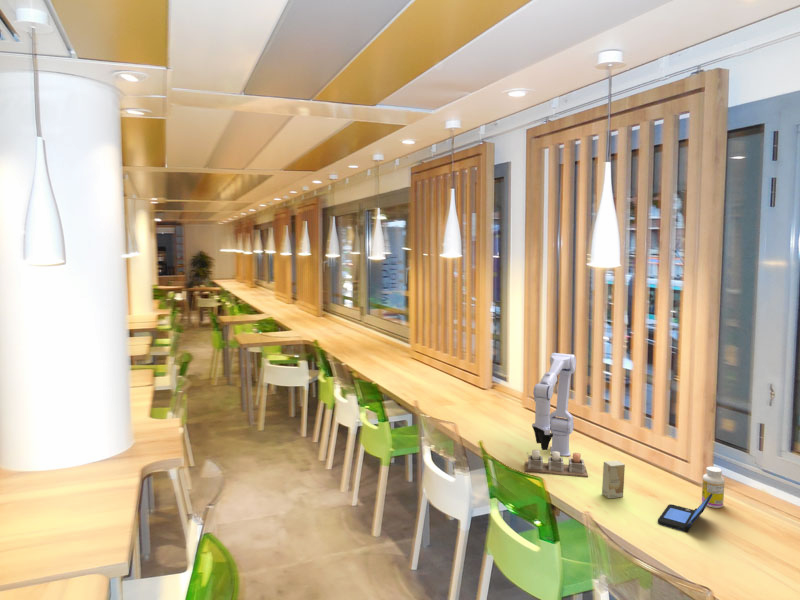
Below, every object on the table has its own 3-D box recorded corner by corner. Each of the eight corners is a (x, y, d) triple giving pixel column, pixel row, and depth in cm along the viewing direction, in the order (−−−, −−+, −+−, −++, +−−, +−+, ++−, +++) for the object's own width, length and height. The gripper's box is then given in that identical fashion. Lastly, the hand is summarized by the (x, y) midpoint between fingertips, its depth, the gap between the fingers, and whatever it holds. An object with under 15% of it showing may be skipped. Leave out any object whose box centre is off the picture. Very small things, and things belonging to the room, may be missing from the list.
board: (525, 462, 234) (525, 452, 233) (585, 467, 228) (585, 457, 228) (525, 472, 224) (525, 461, 223) (588, 477, 219) (588, 466, 218)
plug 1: (531, 457, 229) (531, 449, 229) (539, 458, 229) (539, 449, 228) (531, 460, 226) (532, 452, 226) (539, 460, 226) (539, 452, 225)
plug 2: (551, 459, 228) (552, 450, 227) (559, 459, 227) (559, 451, 227) (552, 461, 225) (552, 453, 224) (559, 462, 224) (560, 454, 224)
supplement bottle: (703, 498, 200) (705, 463, 199) (724, 503, 196) (726, 468, 195) (699, 505, 195) (701, 469, 194) (721, 510, 191) (723, 474, 190)
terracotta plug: (572, 460, 226) (572, 452, 226) (580, 461, 225) (580, 453, 225) (572, 463, 223) (573, 455, 223) (580, 464, 222) (581, 455, 222)
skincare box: (608, 499, 200) (610, 466, 199) (601, 493, 204) (602, 461, 203) (624, 497, 201) (625, 464, 200) (616, 491, 206) (617, 459, 204)
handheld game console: (668, 507, 194) (670, 481, 193) (712, 519, 185) (713, 492, 185) (656, 524, 182) (657, 497, 181) (702, 538, 173) (703, 509, 173)
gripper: (528, 408, 231) (527, 440, 232) (537, 419, 216) (536, 453, 218) (545, 408, 231) (544, 440, 232) (555, 419, 216) (554, 452, 218)
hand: (541, 446), depth 225 cm, fingers open, 7 cm apart
